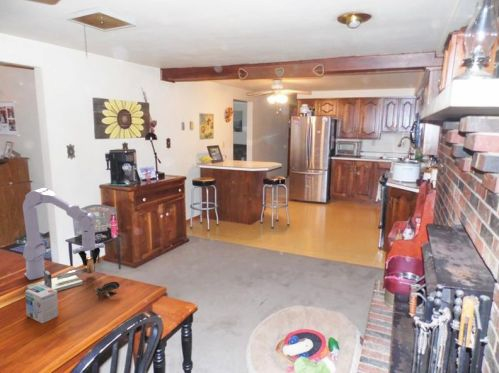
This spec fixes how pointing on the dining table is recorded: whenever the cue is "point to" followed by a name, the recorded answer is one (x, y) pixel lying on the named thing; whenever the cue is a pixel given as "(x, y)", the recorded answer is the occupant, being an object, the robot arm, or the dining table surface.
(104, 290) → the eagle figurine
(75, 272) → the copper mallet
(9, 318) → the dining table surface
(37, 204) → the robot arm
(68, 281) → the eye stand
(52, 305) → the light bulb box
